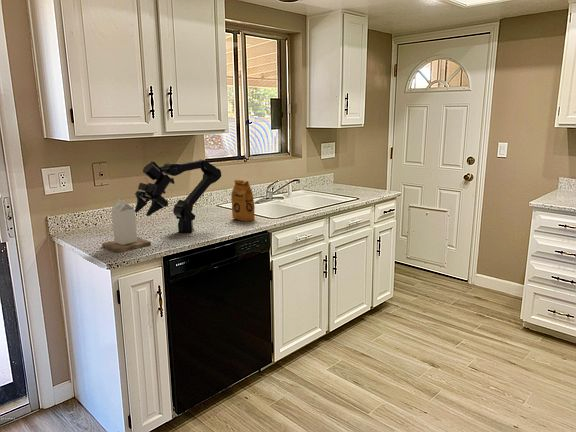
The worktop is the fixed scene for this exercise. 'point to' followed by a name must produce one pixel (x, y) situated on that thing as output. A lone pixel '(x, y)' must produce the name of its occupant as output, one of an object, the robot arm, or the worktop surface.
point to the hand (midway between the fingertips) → (141, 213)
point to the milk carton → (124, 223)
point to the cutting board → (126, 245)
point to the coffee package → (242, 201)
